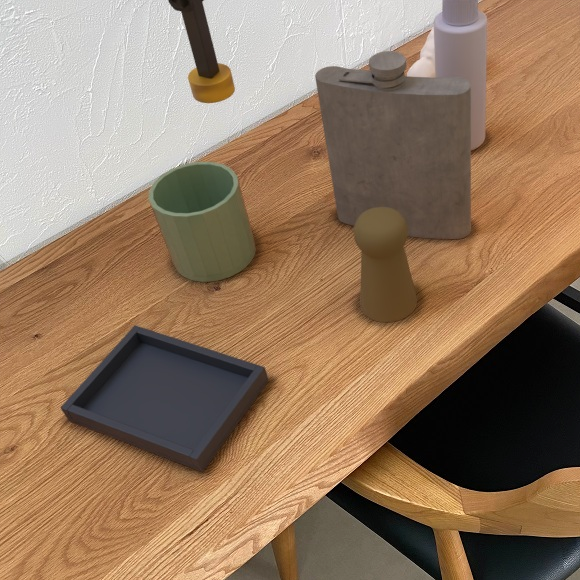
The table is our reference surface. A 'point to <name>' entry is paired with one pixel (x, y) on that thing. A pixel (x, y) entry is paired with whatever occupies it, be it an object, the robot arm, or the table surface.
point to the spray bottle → (464, 55)
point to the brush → (206, 60)
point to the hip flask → (399, 145)
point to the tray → (167, 396)
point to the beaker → (203, 220)
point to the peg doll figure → (384, 265)
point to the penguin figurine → (425, 60)
